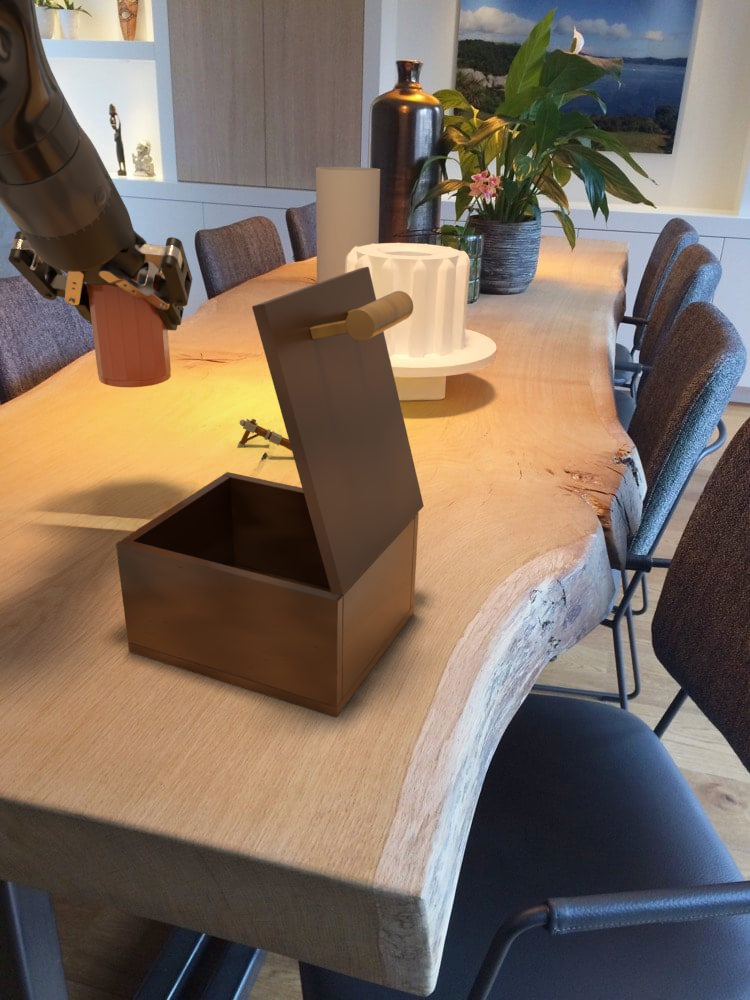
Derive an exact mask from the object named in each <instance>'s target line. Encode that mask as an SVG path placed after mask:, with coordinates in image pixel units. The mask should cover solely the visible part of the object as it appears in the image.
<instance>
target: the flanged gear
mask: <svg viewBox="0 0 750 1000" xmlns="http://www.w3.org/2000/svg"><path fill="white" fill-rule="evenodd" d="M364 267H369V271H370V275H371V279H372V284H373V288H374V292H375V297H376V300H377V299H380V298H382V297H384V296H386V295H389V294H391V293H393V292H396V291H402V292H405V293H407V294H408V295H409V296H410V298H411V299H412V302H413V312H412V314H411V315H410V317H409V318H407V319H405V320H404V321H402V322H400V323H398V324H396V325H394V326H392V327H390V328H389V329H387V330H385V331H384V336H385V340H386V344H387V349H388V353H389V357H390V362H391V366H392V370H393V375H394V379H395V383H396V388H397V392H398V396H399V401H400V402H404V401H407V402H408V401H412V402H413V401H441V400H444V399H445V398H446V385H447V377H449V376H455V375H463V374H468V373H472V372H475V371H479V370H482V369H484V368H486V367H488V366H490V365H491V364H492V363H494V361H495V360H496V357H497V344H496V343H495V341H494V340H493V339H491V338H490V337H488V336H487V335H484V334H482V333H480V332H478V331H475V330H471V329H467V315H468V314H467V313H468V299H469V286H470V274H471V273H470V272H471V259H470V256H469V255H468V254H467V252H466V251H465V250H459V249H456V248H453V247H451V246H444V245H437V244H429V243H414V242H413V243H411V242H386V243H385V242H383V243H378V244H374V243H372V244H371V245H364V246H360V247H358V246H355V247H354V248H353V249H352V250H351V252H349V253H348V255H347V256H346V260H345V273H348V272H351V271H353V270H356V269H359V268H364Z"/></svg>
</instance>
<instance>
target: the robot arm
mask: <svg viewBox="0 0 750 1000" xmlns="http://www.w3.org/2000/svg"><path fill="white" fill-rule="evenodd" d="M48 60H49V59H48V57H47V55H46V50H45V47H44V44H43V40H42V36H41V32H40V27H39V21H38V16H37V10H36V3H35V0H0V204H1V206H2V207H3V209H4V210H5V211H6V213H7V214H8V216H9V217H10V219H11V220H12V221H13V223H14V224H15V225H16V227H17V229H18V231H16V233H15V236H14V239H13V241H12V244H11V247H10V252H9V256H8V261H9V262H10V264H11V265H12V266H13V267H14V268H15V269H16V270H17V271H18V272H19V273H20V274H21V275H22V277H23V278H24V279H25V280H26V281H27V282H28V283H29V284H30V285H31V286H32V287H33V288H34V289H35V291H37V292H38V293H39V295H40V296H41V297H42V298H43V299H45V300H49V301H55V300H56V299H57V297H59V298H64V302H66V303H67V304H69V305H72V306H74V308H75V309H76V311H77V312H78V313H79V314H80V317H82V318H83V320H85V321H87V322H89V324H90V325H91V326H92V321H91V313H90V304H89V296H88V288H87V283H88V284H89V285H94V286H100V285H111V286H116V287H120V288H122V289H123V290H124V291H126V292H127V293H129V294H130V295H132V296H133V297H134V298H136V299H141V298H144V299H146V300H147V301H148V302H150V303H151V304H153V305H154V306H156V311H157V312H158V314H159V316H160V318H161V319H162V321H163V323H164V325H165V326H166V328H167V330H168V331H177V329H178V326H181V325H182V320H183V314H184V310H185V308H184V307H186V306H188V302H189V299H190V293H191V288H192V284H193V276H192V272H191V270H190V269H191V268H190V265H189V262H188V259H187V255H186V252H185V249H184V245H183V242H182V240H180V239H179V238H177V237H172V236H170V237H168V238H166V241H165V245H162V244H161V245H160V244H153V243H148V242H147V241H146V240H145V238H144V237H142V236H141V235H140V234H138V233H137V232H136V231H135V229H134V227H133V223H132V219H131V217H130V213H129V211H128V208H127V206H126V204H125V202H124V200H123V198H122V196H121V194H120V193H119V190H118V189H117V187H116V184H115V183H114V181H113V179H112V177H111V175H110V173H109V171H108V169H107V168H106V166H105V164H104V161H103V160H102V158H101V156H100V154H99V152H98V150H97V148H96V146H95V145H94V143H93V141H92V139H90V137H89V136H88V134H87V133H86V132H85V130H84V129H83V127H82V126H81V125H80V123H79V122H78V120H77V118H76V116H75V114H74V111H73V110H72V108H71V106H70V104H69V103H68V101H67V98H66V97H65V95H64V93H63V92H62V88H61V87H60V85H59V83H58V81H57V79H56V77H55V74H54V73H53V71H52V68H51V66H50V63H49V61H48ZM63 272H64V273H66V275H63ZM138 272H139V273H138ZM137 274H138V277H137V281H134V279H135V277H136V276H137ZM153 282H154V283H155V284H157V285H158V290H157V291H156V290H154V288H153Z"/></svg>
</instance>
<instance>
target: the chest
mask: <svg viewBox="0 0 750 1000" xmlns="http://www.w3.org/2000/svg"><path fill="white" fill-rule="evenodd" d="M419 517H420V516H419V512H418V513H417V514H416V515H415V516H414V518H413V519H412V520H411V521H410V522H409V523H408V524H407V525H406V526H405V527H404V528H403V530H402V531H401V532H400V533H399V534H398V535H397V536H396V537H395V538H394V539H393V540H392V542H391V543H390V544H389V545H388V546H387V547H386V548H385V549H384V550H383V551H382V552H381V554H380V555H379V556H378V557H377V558H376V559H375V560H374V561H373V562H372V563H371V564H370V566H369V567H368V568H367V569H366V570H365V571H364V572H363V573H362V574H361V575H360V576H359V578H358V579H357V580H356V581H355V582H354V583H353V584H352V585H351V586H350V587H349V589H348V590H347V591H346V592H345V593H344V594H342V595H332V593H331V589H330V586H329V582H328V579H327V575H326V571H325V568H324V564H323V561H322V557H321V553H320V550H319V546H318V543H317V539H316V535H315V532H314V528H313V525H312V521H311V517H310V514H309V510H308V507H307V503H306V499H305V496H304V492H303V489H302V486H301V487H300V486H297V485H291V484H286V483H281V482H277V481H272V480H267V479H262V478H257V477H253V476H249V475H244V474H239V473H234V472H229V471H226V472H225V473H223V474H222V475H220V476H218V477H217V478H215V479H213V480H212V481H211V482H209V483H207V484H206V485H205V486H203V487H201V488H200V489H198V490H196V491H195V492H193V493H192V494H191V495H189V496H187V497H186V498H184V499H183V500H181V501H179V502H178V503H176V504H174V505H173V506H172V507H170V508H168V509H167V510H164V512H162V513H160V514H159V515H157V516H156V517H154V518H153V519H152V520H149V521H148V522H147V523H145V524H144V525H142V526H141V527H139V528H137V529H136V530H134V531H132V532H131V533H130V534H128V535H126V536H125V537H123V538H122V539H120V540H119V541H117V542H116V543H115V548H116V556H117V565H118V575H119V579H120V580H119V581H120V588H121V598H122V607H123V614H124V623H125V630H126V637H127V646H128V651H129V652H131V653H133V654H137V655H139V656H143V657H146V658H149V659H152V660H155V661H159V662H161V663H165V664H167V665H171V666H174V667H177V668H181V669H183V670H187V671H190V672H193V673H196V674H199V675H202V676H205V677H209V678H211V679H215V680H218V681H220V682H221V681H222V682H225V683H227V684H231V685H234V686H237V687H241V688H244V689H247V690H250V691H252V692H256V693H258V694H262V695H266V696H269V697H271V698H275V699H279V700H281V701H284V702H287V703H289V704H293V705H297V706H300V707H302V708H307V709H309V710H312V711H315V712H319V713H322V714H325V715H328V716H331V717H334V718H337V717H338V716H339V714H340V713H342V711H343V710H344V708H345V707H346V706H347V704H348V702H349V701H350V700H351V698H352V697H353V696H354V694H355V693H356V692H357V690H358V689H359V688H360V686H361V685H362V684H363V683H364V681H365V679H366V678H367V677H368V676H369V674H370V673H371V672H372V670H373V669H374V667H375V666H376V664H377V663H378V662H379V661H380V660H381V658H382V656H383V655H384V654H385V652H386V651H387V650H388V648H389V647H390V646H391V644H392V643H393V642H394V641H395V639H396V638H397V636H398V635H399V634H400V632H401V631H402V629H403V628H404V627H405V626H406V624H407V623H408V621H409V620H410V619H411V617H412V616H413V615H414V610H415V594H416V593H415V591H416V574H417V573H416V571H417V554H418V536H419V535H418V534H419V533H418V531H419Z"/></svg>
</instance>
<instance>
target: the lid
mask: <svg viewBox="0 0 750 1000" xmlns="http://www.w3.org/2000/svg"><path fill="white" fill-rule="evenodd" d="M251 308H252V313H253V316H254V320H255V323H256V327H257V330H258V334H259V337H260V341H261V344H262V348H263V351H264V355H265V359H266V363H267V367H268V370H269V374H270V377H271V380H272V384H273V387H274V391H275V394H276V395H275V396H276V398H277V403H278V406H279V409H280V413H281V416H282V420H283V423H284V427H285V428H284V429H285V431H286V435H287V439H289V442H290V446H291V449H292V451H291V453H292V456H293V459H294V463H295V466H296V471H297V474H298V478H299V482H300V486H301V488H302V489H303V492H304V496H305V499H306V503H307V507H308V510H309V514H310V517H311V521H312V525H313V528H314V532H315V535H316V539H317V543H318V546H319V550H320V553H321V557H322V561H323V564H324V568H325V571H326V575H327V579H328V582H329V586H330V589H331V593H332V595H342V594H344V593H345V592H346V591H347V590H348V589H349V587H350V586H351V585H352V584H353V583H354V582H355V581H356V580H357V579H358V578H359V576H360V575H361V574H362V573H363V572H364V571H365V570H366V569H367V568H368V567H369V566H370V564H371V563H372V562H373V561H374V560H375V559H376V558H377V557H378V556H379V555H380V554H381V552H382V551H383V550H384V549H385V548H386V547H387V546H388V545H389V544H390V543H391V542H392V540H393V539H394V538H395V537H396V536H397V535H398V534H399V533H400V532H401V531H402V530H403V528H404V527H405V526H406V525H407V524H408V523H409V522H410V521H411V520H412V519H413V518H414V516H415V515H416V514H417V513H419V512H420V511H421V510H422V509H423V508H424V502H423V496H422V493H421V488H420V484H419V479H418V476H417V470H416V467H415V461H414V457H413V453H412V450H411V445H410V441H409V440H410V439H409V436H408V432H407V428H406V423H405V419H404V414H403V410H402V406H401V401H399V396H398V392H397V388H396V383H395V379H394V375H393V370H392V366H391V362H390V357H389V353H388V349H387V344H386V340H385V336H384V331H385V330H387V329H389V328H390V327H392V326H394V325H396V324H398V323H400V322H402V321H404V320H405V319H407V318H409V317H410V315H411V314H412V312H413V302H412V299H411V298H410V296H409V295H408V294H407V293H405V292H402V291H396V292H393V293H391V294H389V295H386V296H384V297H382V298H380V299H377V300H376V297H375V292H374V288H373V284H372V279H371V275H370V271H369V267H364V268H359V269H356V270H353V271H351V272H348V273H345V274H342V275H339V276H336V277H334V278H331V279H328V280H325V281H322V282H320V283H317V282H316V283H314V284H312V285H311V284H310V285H308V286H305V287H303V288H300V289H298V290H295V291H292V292H289V293H286V294H282V295H280V296H278V297H273V298H271V299H269V300H266V301H263V302H260V303H258V304H257V303H256V304H255V305H252V306H251Z"/></svg>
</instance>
